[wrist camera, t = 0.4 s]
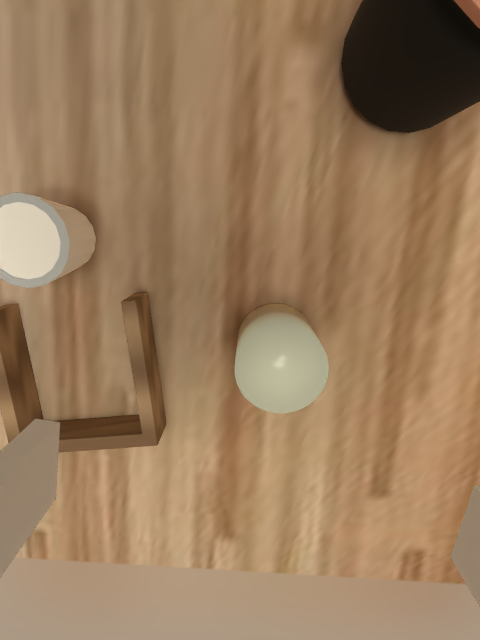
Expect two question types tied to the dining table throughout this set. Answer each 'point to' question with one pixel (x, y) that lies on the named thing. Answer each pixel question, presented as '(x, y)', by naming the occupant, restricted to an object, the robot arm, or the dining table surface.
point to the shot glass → (41, 240)
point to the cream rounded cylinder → (279, 359)
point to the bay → (95, 433)
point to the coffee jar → (413, 61)
